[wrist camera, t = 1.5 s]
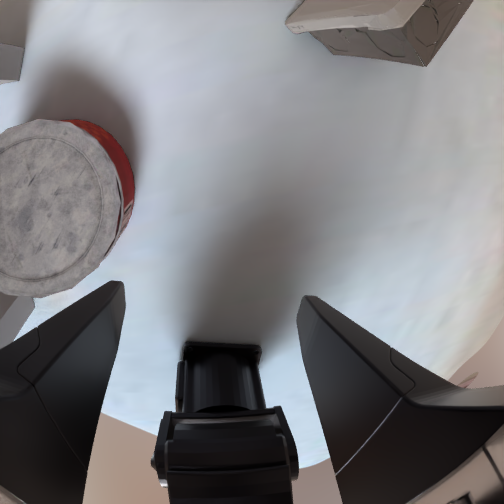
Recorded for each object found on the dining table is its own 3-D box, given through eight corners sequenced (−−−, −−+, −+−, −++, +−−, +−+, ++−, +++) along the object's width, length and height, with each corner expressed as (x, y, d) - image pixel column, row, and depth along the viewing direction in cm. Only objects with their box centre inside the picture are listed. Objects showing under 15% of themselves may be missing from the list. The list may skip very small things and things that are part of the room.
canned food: (55, 134, 19) (-4, 74, 10) (162, 160, 21) (139, 88, 11) (12, 266, 18) (-72, 265, 9) (115, 309, 20) (55, 341, 10)
